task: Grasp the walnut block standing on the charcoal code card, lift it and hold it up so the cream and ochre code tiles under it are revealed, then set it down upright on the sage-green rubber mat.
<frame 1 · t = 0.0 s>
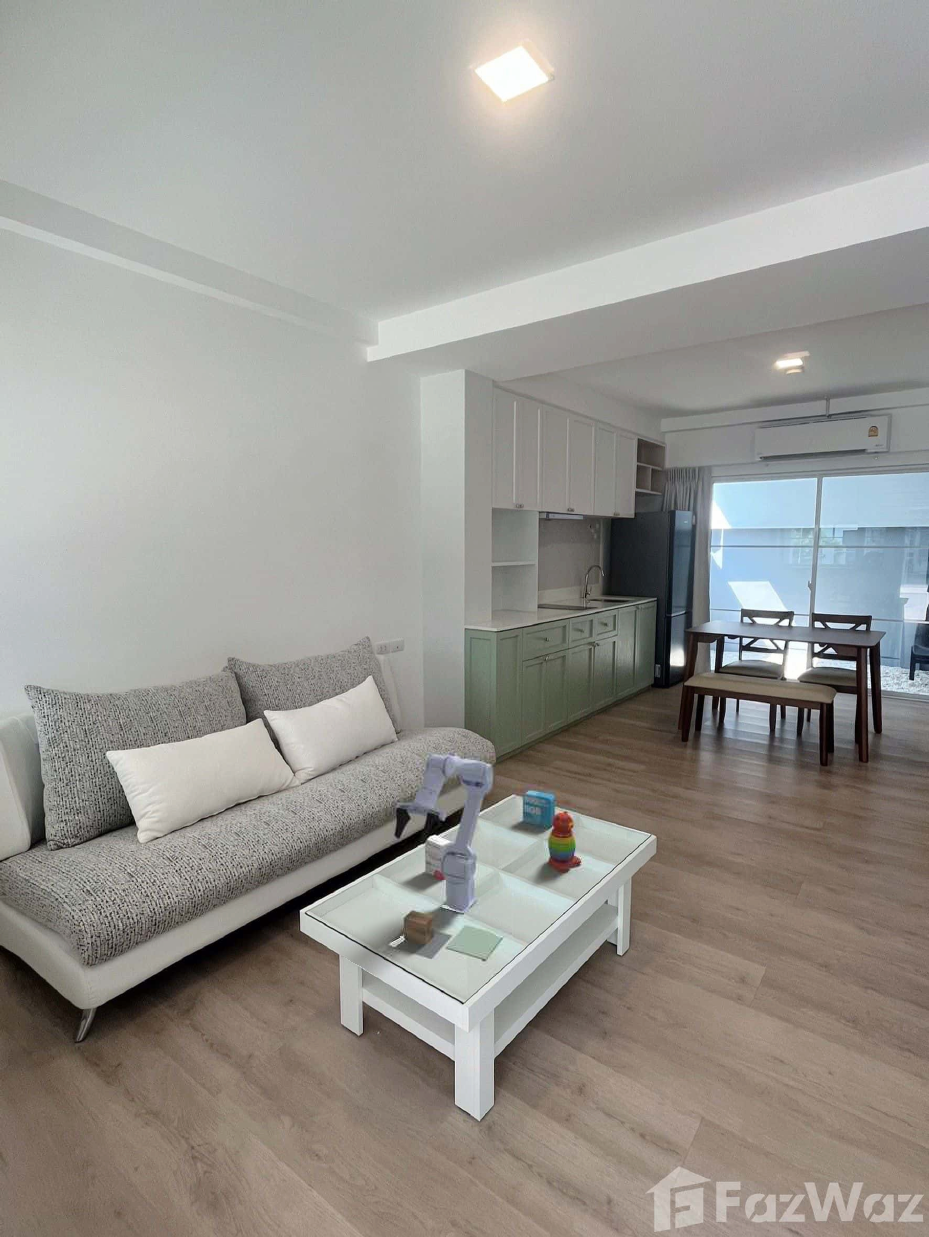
hand: (409, 839, 174), 32 cm above the table, tool tilted 50°, fingers open, 7 cm apart
stacking bear: (562, 863, 229), on the table
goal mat: (475, 942, 183), on the table
data package: (538, 823, 262), on the table
walnut block: (418, 937, 185), resting on code card
code card: (420, 941, 184), on the table
ink box: (438, 874, 222), on the table
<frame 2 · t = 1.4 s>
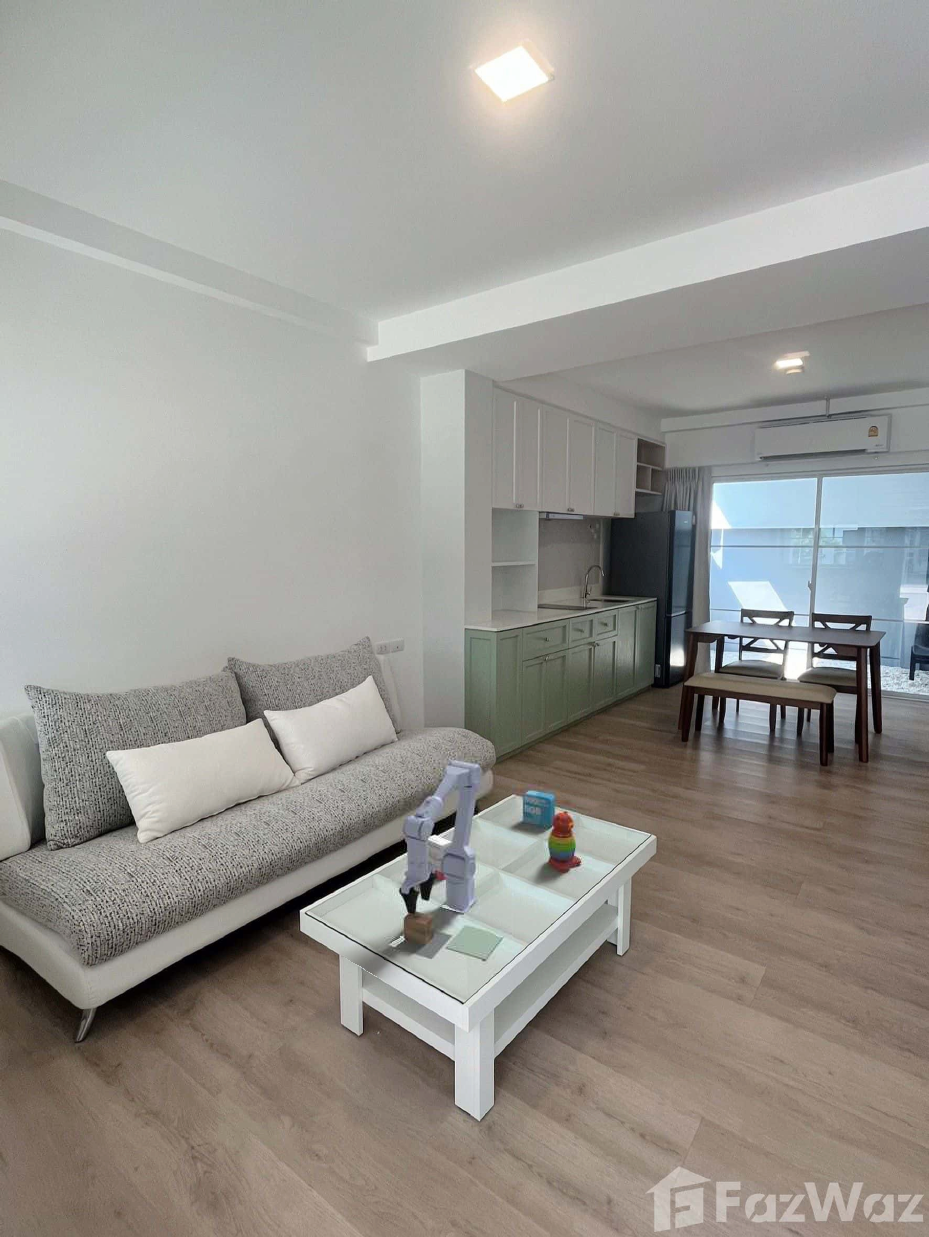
hand: (418, 906, 184), 9 cm above the table, tool pointing down, fingers open, 7 cm apart
nothing on the table moved.
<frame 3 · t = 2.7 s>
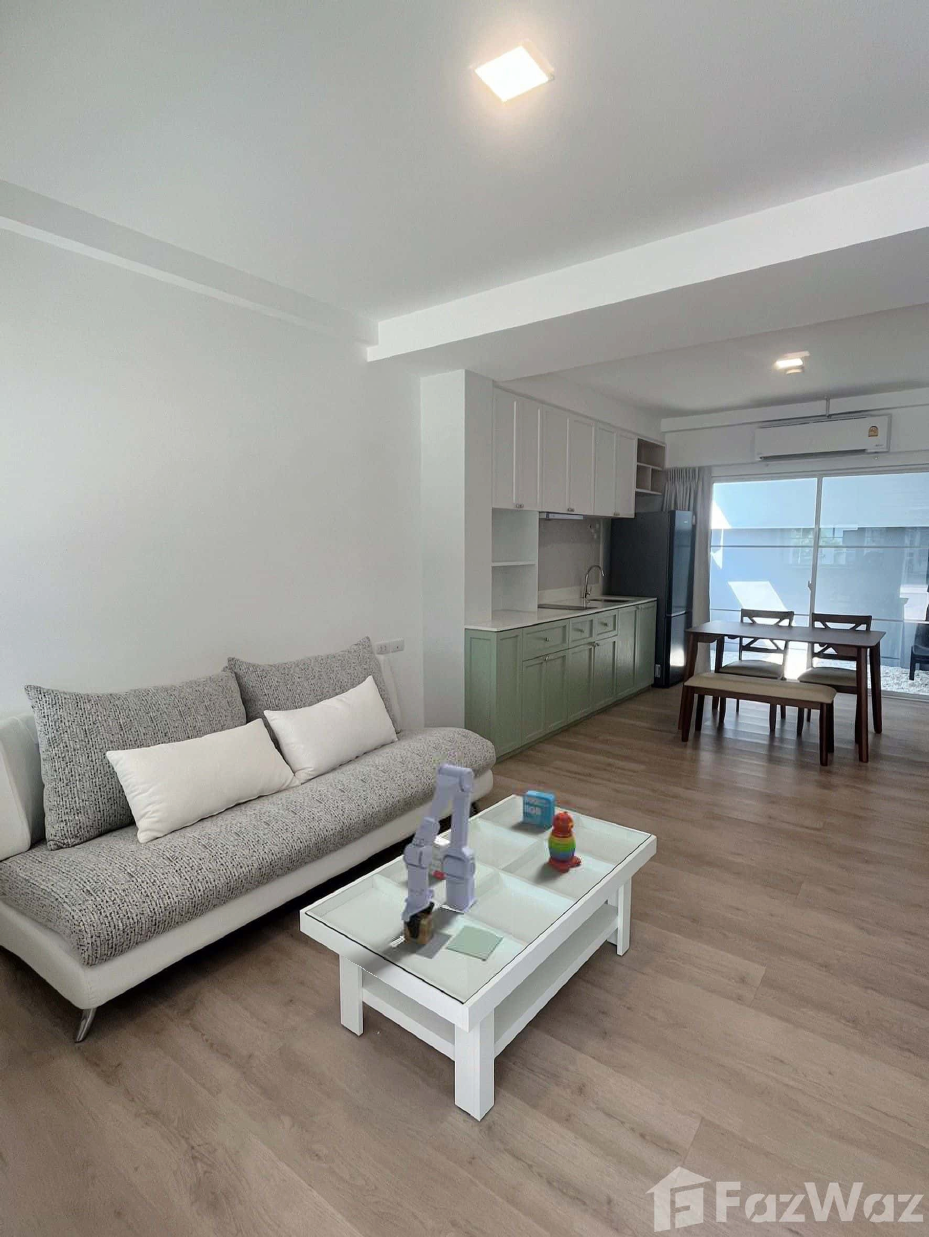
hand: (418, 932, 185), 2 cm above the table, tool pointing down, fingers closed on walnut block, 4 cm apart
walnut block: (418, 937, 185), resting on code card, touching gripper
everything else where it was.
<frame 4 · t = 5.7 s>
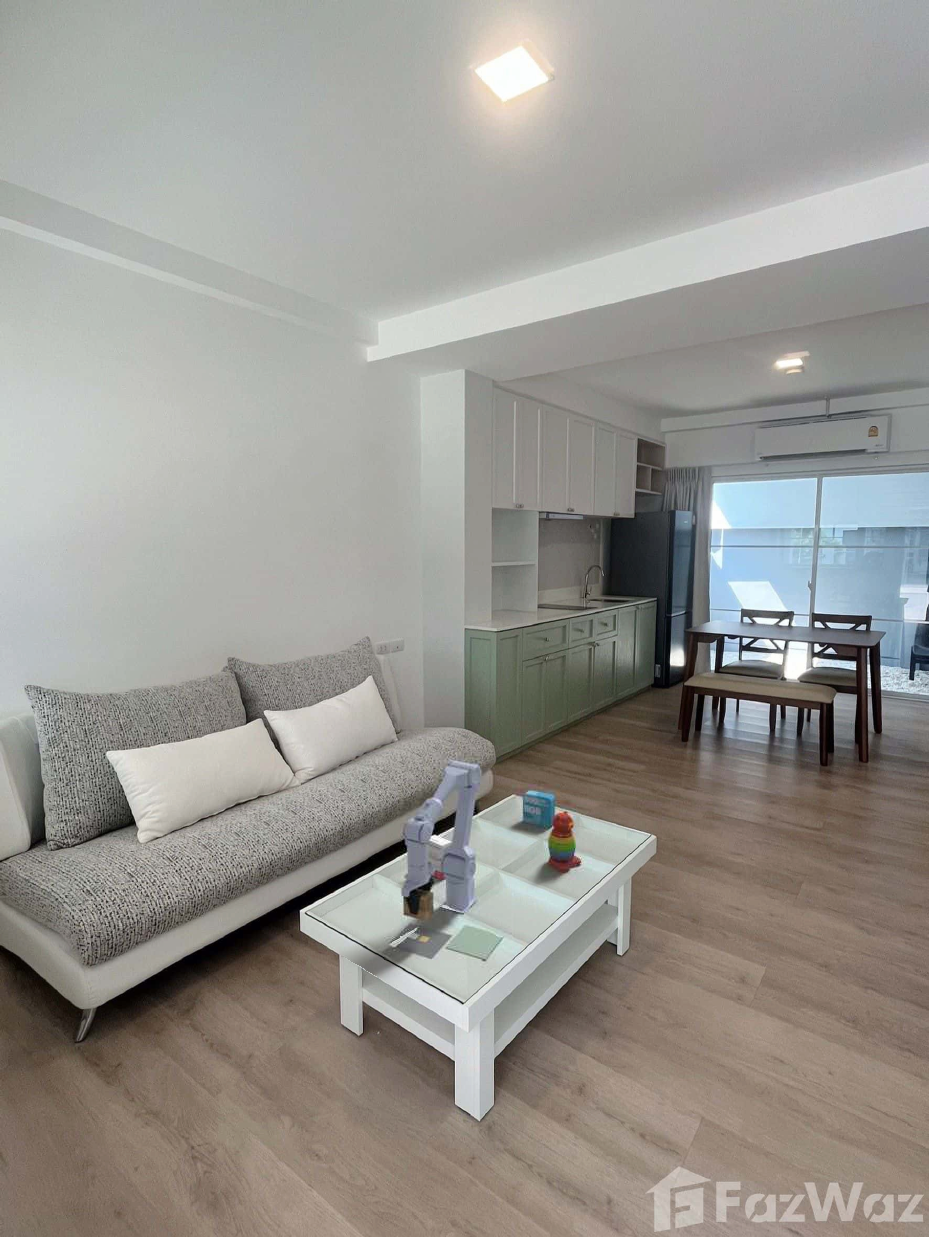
hand: (418, 909, 184), 9 cm above the table, tool pointing down, fingers closed on walnut block, 4 cm apart
walnut block: (418, 913, 184), point 7 cm above the table, touching gripper
everything else where it was.
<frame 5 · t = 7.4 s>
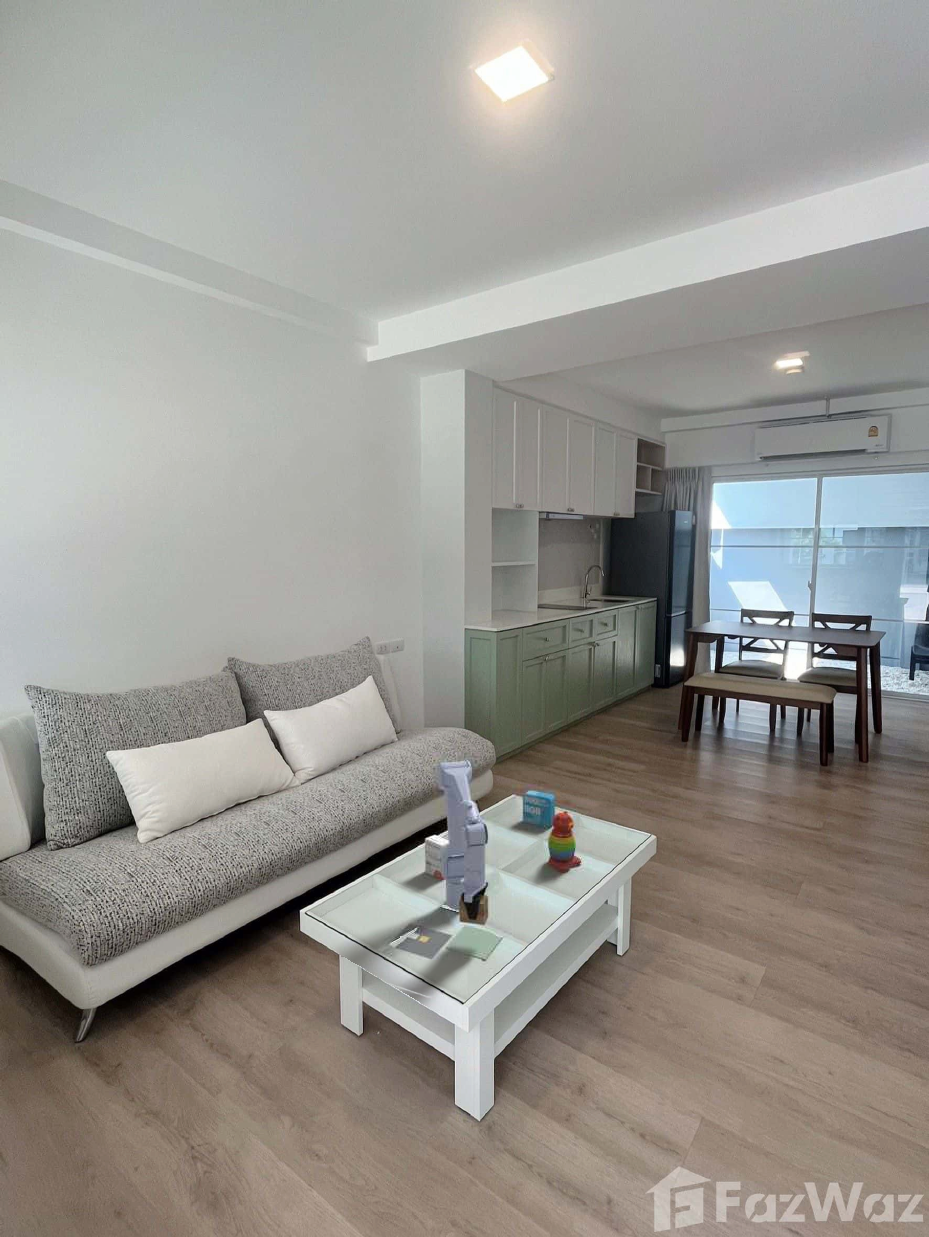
hand: (474, 913, 182), 8 cm above the table, tool pointing down, fingers closed on walnut block, 4 cm apart
walnut block: (474, 919, 182), point 7 cm above the table, touching gripper
everything else where it was.
when the fingers open (3 cm above the table, at t = 8.7 s): walnut block drops 1 cm, resting on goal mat.
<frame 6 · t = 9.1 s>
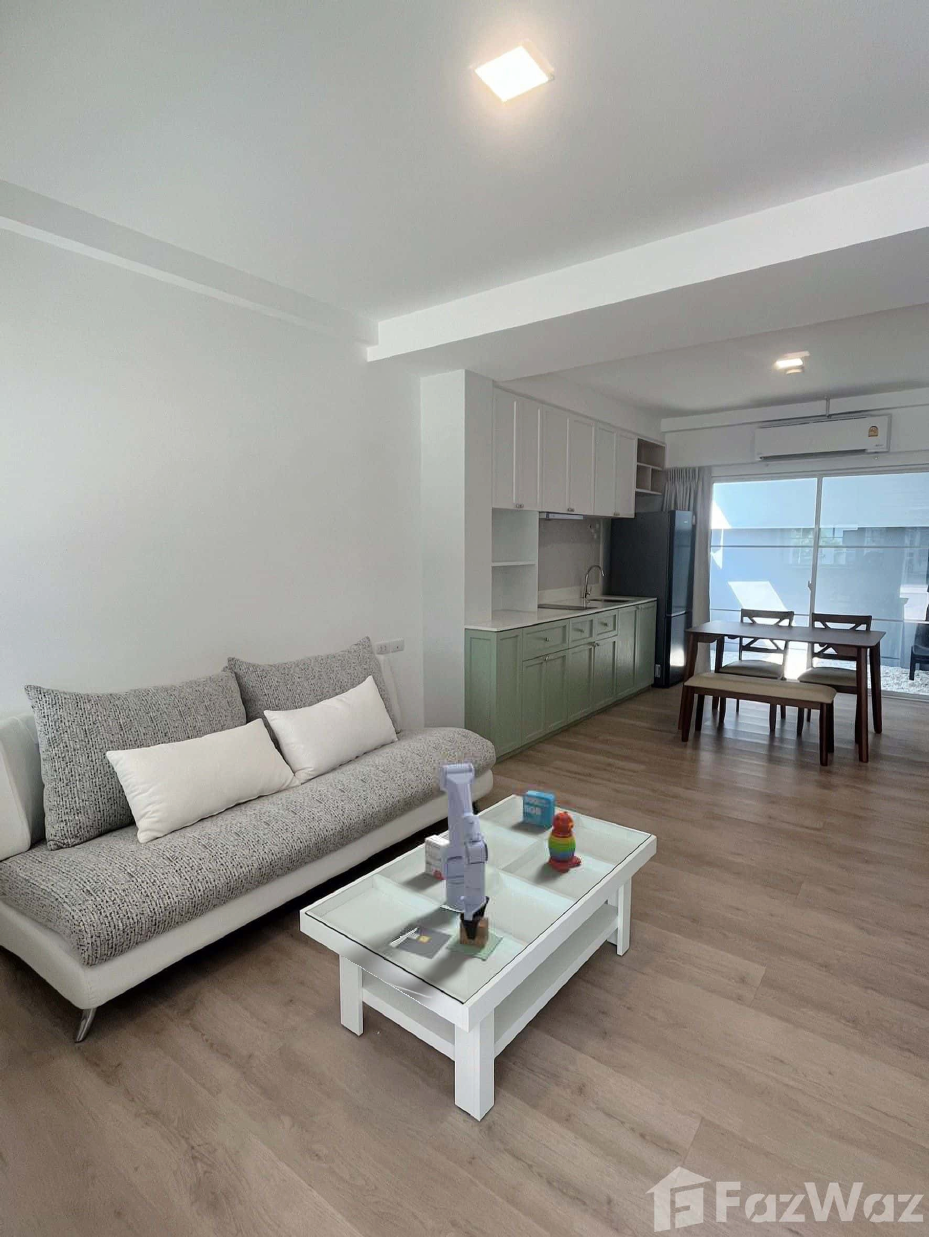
hand: (475, 930, 183), 3 cm above the table, tool pointing down, fingers open, 7 cm apart
walnut block: (474, 941, 183), resting on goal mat
everything else where it was.
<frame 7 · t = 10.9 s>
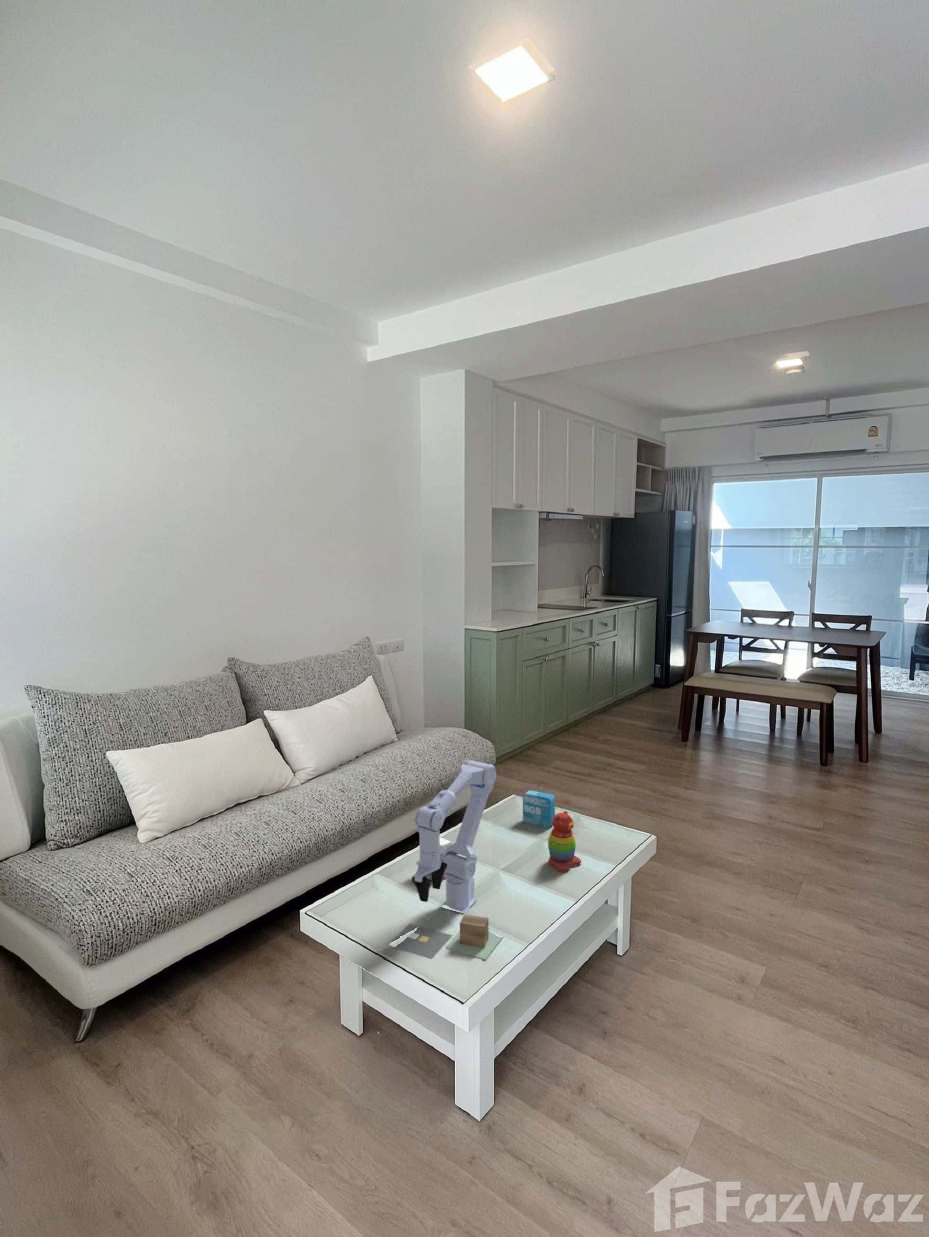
hand: (430, 894, 190), 9 cm above the table, tool pointing down, fingers open, 7 cm apart
nothing on the table moved.
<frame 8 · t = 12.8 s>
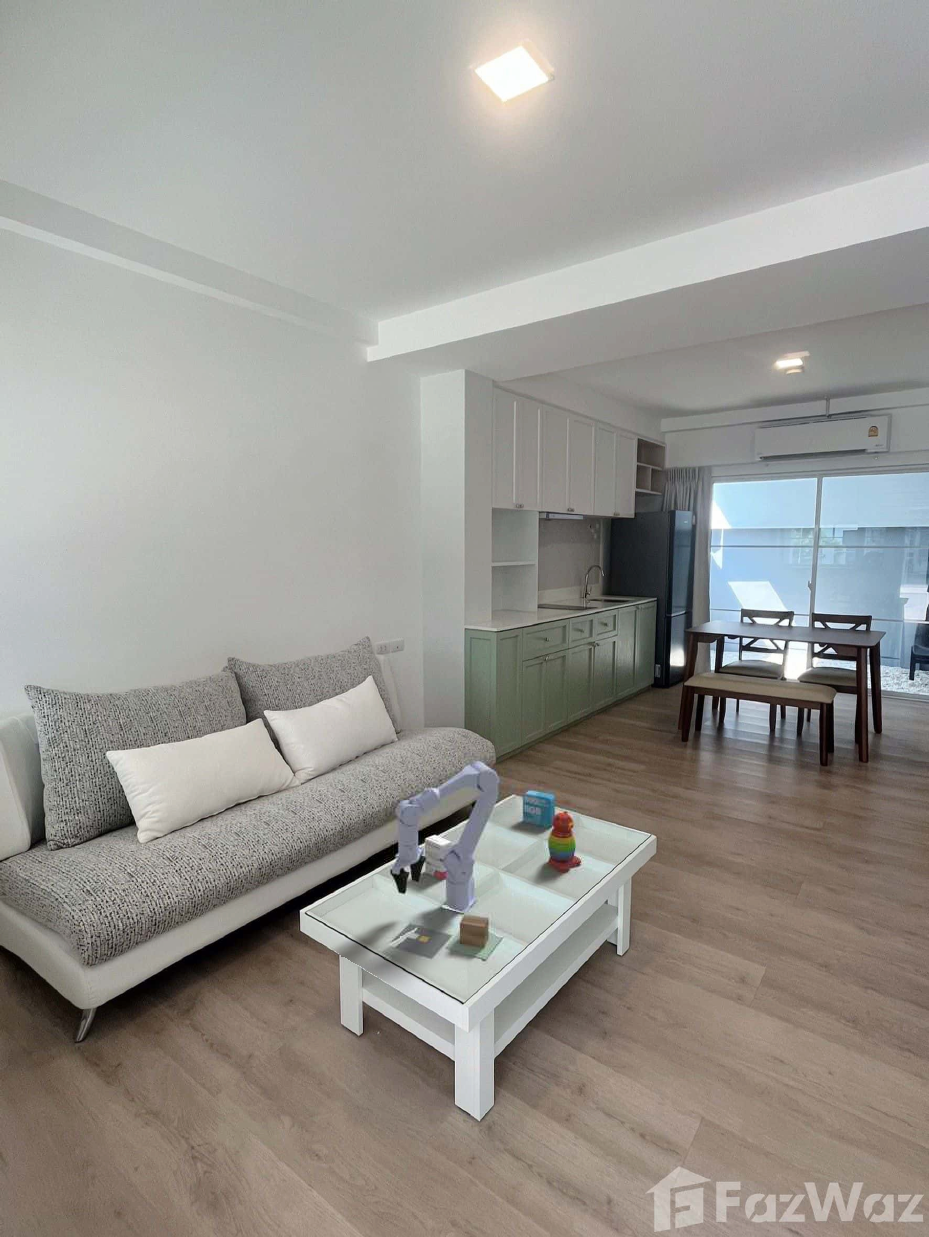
hand: (408, 886, 195), 9 cm above the table, tool pointing down, fingers open, 7 cm apart
nothing on the table moved.
at the end: walnut block inside the target area on the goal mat (0.2 cm from its centre), point 0.4 cm above the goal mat's base; walnut block tilted 0°; the gripper is holding nothing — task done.
